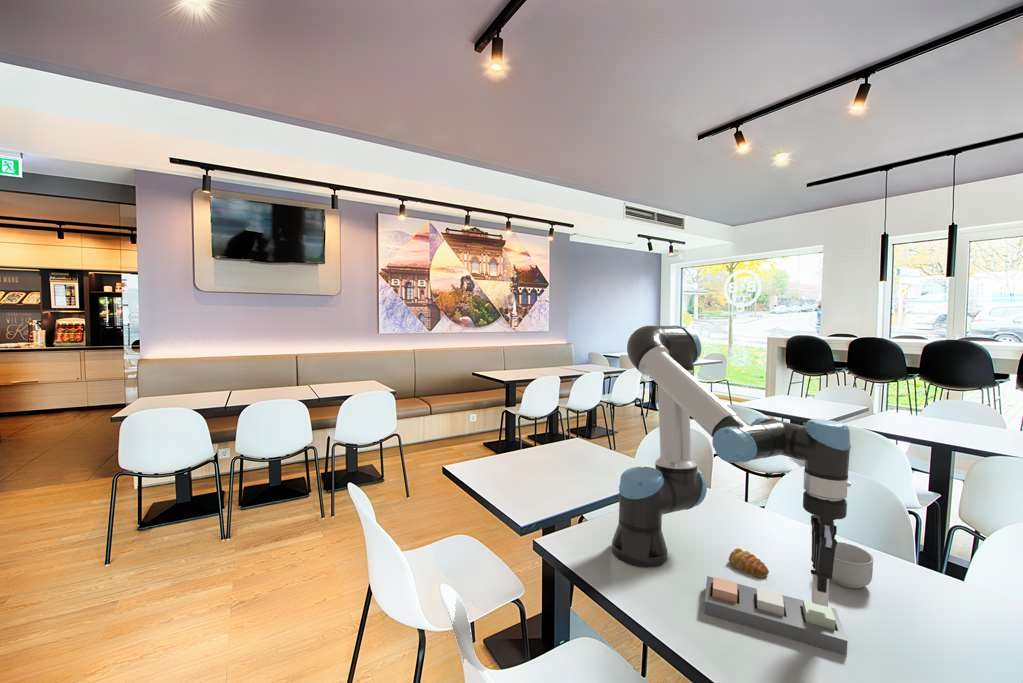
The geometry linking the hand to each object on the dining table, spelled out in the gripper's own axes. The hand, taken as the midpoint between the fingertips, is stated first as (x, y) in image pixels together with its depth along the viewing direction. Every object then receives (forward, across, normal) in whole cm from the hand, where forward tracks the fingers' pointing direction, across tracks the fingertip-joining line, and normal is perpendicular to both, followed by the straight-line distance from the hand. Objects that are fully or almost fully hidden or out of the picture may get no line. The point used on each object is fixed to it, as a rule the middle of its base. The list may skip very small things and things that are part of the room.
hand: (819, 603), depth 93 cm
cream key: (+4, 0, +9) cm, 10 cm away
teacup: (+7, +27, -9) cm, 29 cm away
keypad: (+6, 0, +9) cm, 11 cm away
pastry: (+7, +21, +13) cm, 25 cm away
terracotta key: (+4, 0, +18) cm, 19 cm away
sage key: (+4, 0, 0) cm, 4 cm away
